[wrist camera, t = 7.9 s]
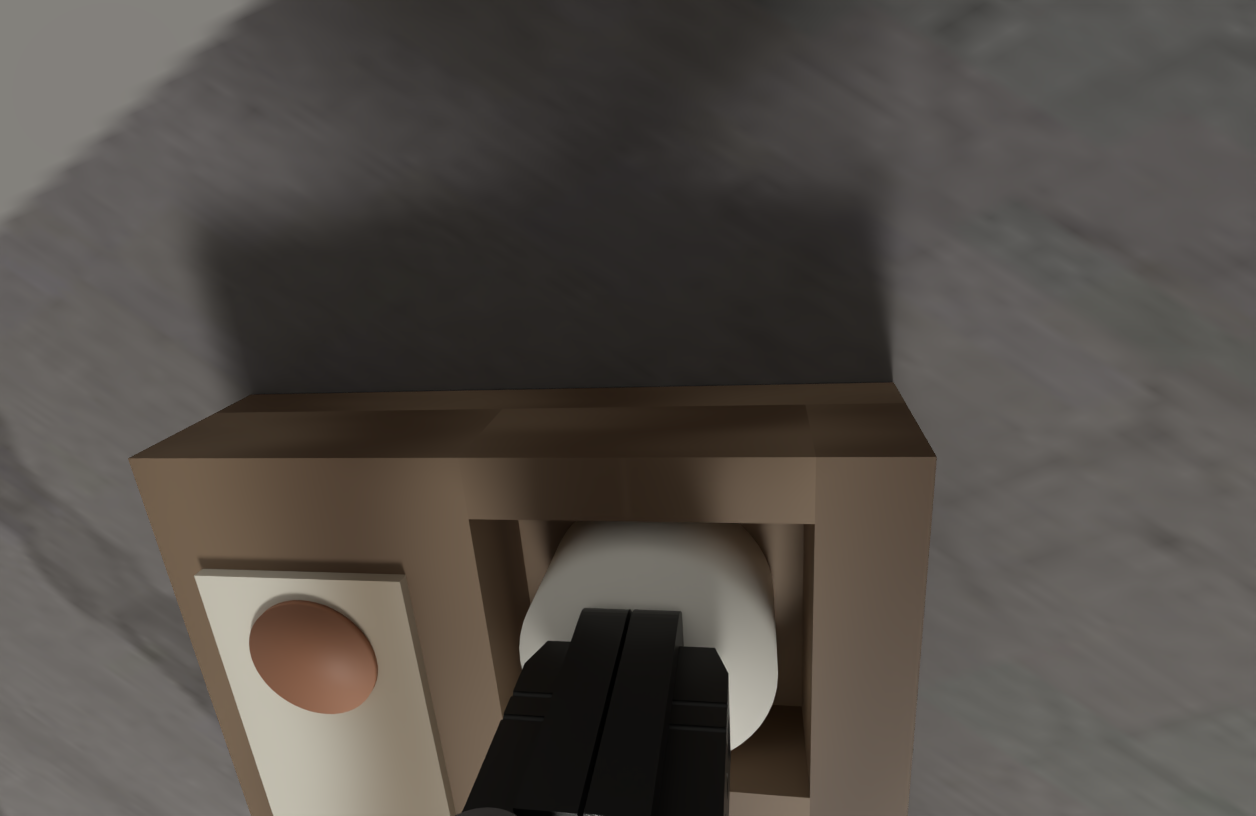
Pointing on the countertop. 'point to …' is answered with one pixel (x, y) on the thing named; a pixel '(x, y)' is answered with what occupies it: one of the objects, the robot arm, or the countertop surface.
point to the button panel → (532, 574)
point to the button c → (671, 597)
